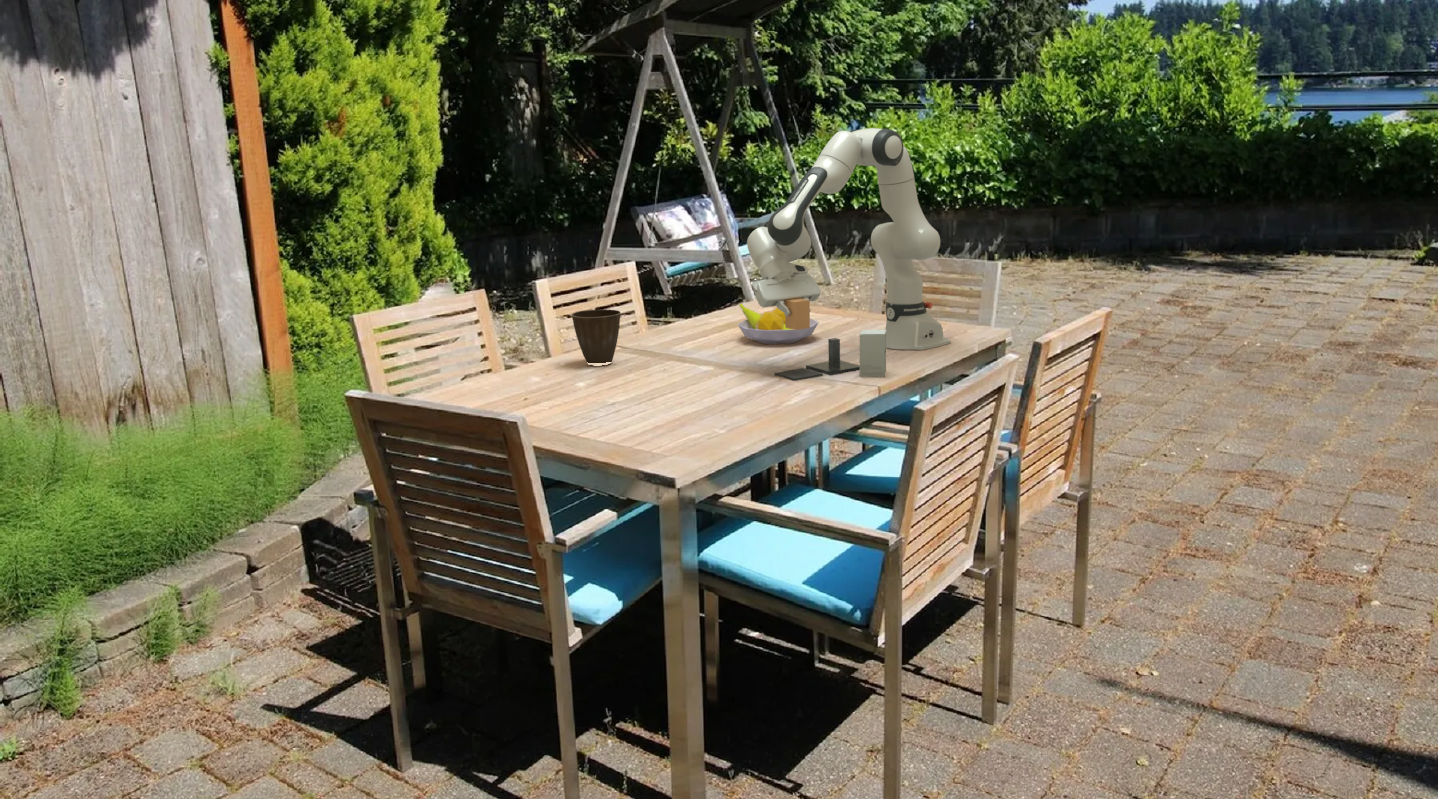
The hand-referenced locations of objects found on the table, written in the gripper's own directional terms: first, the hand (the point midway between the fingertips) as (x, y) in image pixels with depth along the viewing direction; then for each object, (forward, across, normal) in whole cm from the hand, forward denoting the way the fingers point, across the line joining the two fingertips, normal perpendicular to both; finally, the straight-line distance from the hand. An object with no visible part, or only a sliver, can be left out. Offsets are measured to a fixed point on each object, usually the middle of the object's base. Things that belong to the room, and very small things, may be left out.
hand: (798, 313), depth 344 cm
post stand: (+12, +13, +13) cm, 22 cm away
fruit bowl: (-22, +26, +48) cm, 59 cm away
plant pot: (-25, -38, +51) cm, 68 cm away
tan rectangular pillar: (+2, 0, +3) cm, 4 cm away
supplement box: (+22, +17, +4) cm, 28 cm away
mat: (+12, 0, +13) cm, 18 cm away
